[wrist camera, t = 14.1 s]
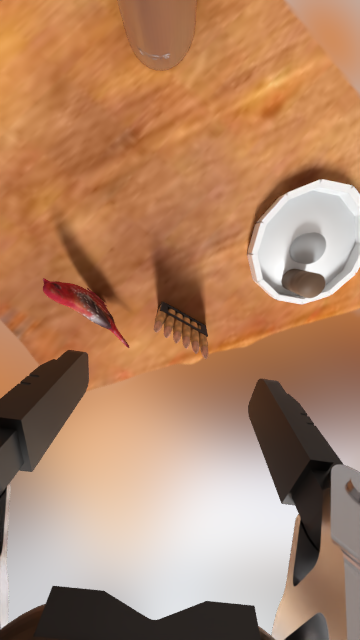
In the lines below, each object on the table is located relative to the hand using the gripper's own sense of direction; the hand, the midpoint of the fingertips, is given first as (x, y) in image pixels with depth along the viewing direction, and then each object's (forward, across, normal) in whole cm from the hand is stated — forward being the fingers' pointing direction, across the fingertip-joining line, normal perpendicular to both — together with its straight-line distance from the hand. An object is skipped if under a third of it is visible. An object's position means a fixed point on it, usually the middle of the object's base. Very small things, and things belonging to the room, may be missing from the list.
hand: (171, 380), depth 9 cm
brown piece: (+29, -21, -3) cm, 36 cm away
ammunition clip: (+30, -2, +8) cm, 31 cm away
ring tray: (+30, -21, -9) cm, 37 cm away
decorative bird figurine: (+30, +14, +8) cm, 34 cm away
